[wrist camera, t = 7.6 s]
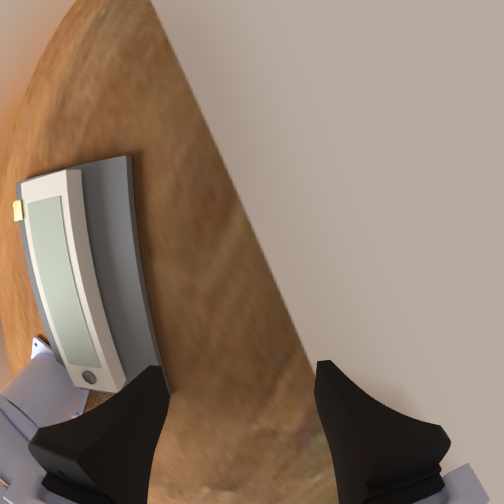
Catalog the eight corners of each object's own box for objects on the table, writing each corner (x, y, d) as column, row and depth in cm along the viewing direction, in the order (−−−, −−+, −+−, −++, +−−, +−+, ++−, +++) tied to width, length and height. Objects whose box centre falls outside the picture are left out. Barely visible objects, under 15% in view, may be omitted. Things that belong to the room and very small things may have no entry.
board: (171, 394, 23) (162, 419, 20) (71, 380, 24) (57, 399, 20) (131, 156, 18) (109, 152, 15) (22, 182, 18) (-3, 184, 15)
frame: (126, 379, 22) (118, 394, 19) (83, 374, 22) (73, 387, 19) (81, 169, 17) (64, 169, 15) (36, 182, 17) (19, 183, 15)
